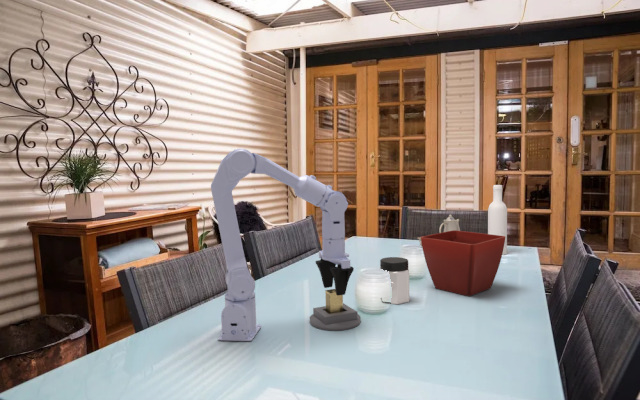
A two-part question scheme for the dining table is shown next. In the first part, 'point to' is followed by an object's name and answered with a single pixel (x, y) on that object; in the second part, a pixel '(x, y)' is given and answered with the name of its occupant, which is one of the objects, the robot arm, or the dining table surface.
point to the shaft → (333, 302)
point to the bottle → (498, 216)
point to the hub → (335, 319)
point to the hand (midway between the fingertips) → (334, 290)
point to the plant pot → (463, 260)
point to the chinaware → (448, 225)
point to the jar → (397, 278)
